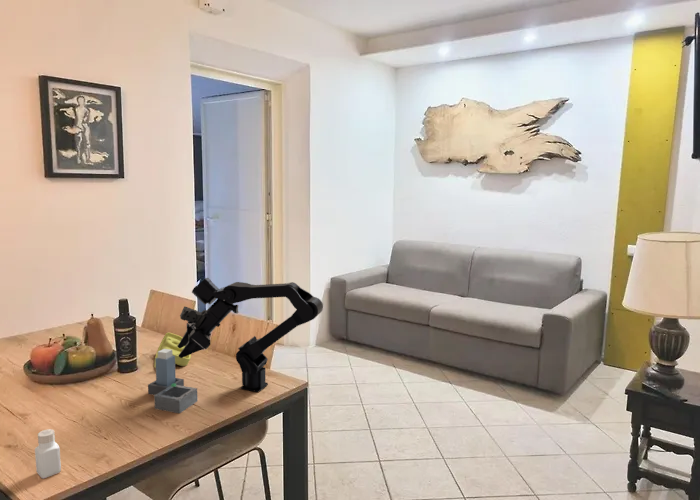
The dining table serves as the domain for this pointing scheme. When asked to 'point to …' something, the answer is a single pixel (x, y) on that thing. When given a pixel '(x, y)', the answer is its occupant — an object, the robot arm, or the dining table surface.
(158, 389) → the frame
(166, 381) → the plug
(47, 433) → the white pill bottle
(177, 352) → the plastic component
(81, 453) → the dining table surface
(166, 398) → the socket block
